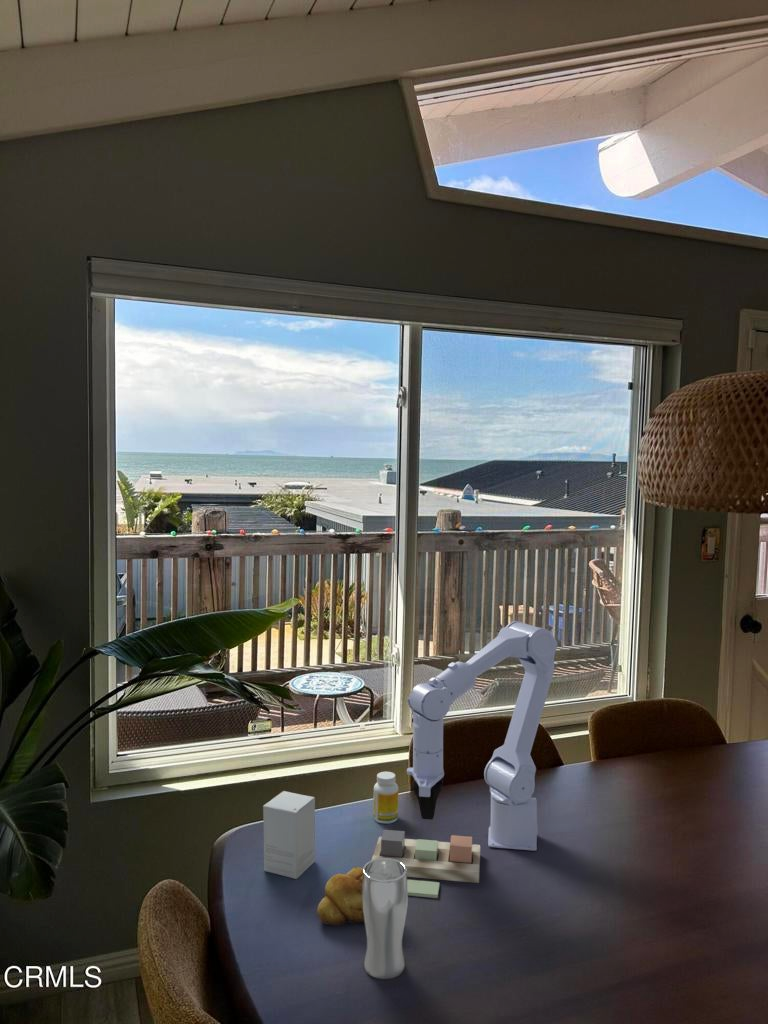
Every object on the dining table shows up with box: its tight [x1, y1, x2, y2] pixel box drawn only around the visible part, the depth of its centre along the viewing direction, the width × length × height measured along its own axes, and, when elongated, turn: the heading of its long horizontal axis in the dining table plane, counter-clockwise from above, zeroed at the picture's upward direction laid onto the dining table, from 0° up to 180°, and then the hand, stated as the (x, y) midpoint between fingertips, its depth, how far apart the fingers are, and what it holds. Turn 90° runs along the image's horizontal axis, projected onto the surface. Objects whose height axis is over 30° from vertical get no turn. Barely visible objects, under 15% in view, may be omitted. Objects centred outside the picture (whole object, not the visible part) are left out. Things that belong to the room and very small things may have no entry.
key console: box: [371, 836, 481, 884], centre depth 139 cm, size 20×10×2 cm, turn 81°
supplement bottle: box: [372, 771, 399, 825], centre depth 157 cm, size 5×5×10 cm
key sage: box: [415, 838, 439, 861], centre depth 139 cm, size 4×4×3 cm
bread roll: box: [316, 866, 364, 926], centre depth 123 cm, size 13×10×8 cm
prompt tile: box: [407, 878, 440, 899], centre depth 130 cm, size 6×4×1 cm, turn 81°
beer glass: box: [361, 858, 409, 980], centre depth 110 cm, size 7×7×15 cm
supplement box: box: [262, 790, 316, 880], centre depth 138 cm, size 7×7×13 cm
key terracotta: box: [449, 834, 473, 864], centre depth 138 cm, size 4×4×3 cm
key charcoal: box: [381, 829, 406, 858], centre depth 140 cm, size 4×4×3 cm
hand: (427, 817), depth 140 cm, fingers closed
